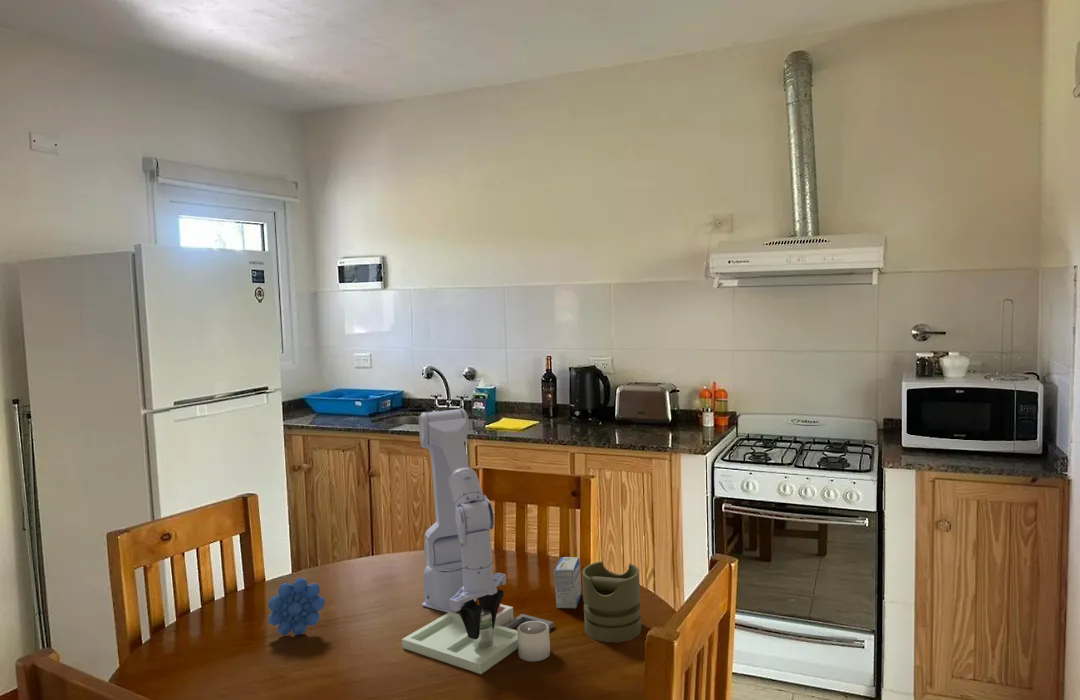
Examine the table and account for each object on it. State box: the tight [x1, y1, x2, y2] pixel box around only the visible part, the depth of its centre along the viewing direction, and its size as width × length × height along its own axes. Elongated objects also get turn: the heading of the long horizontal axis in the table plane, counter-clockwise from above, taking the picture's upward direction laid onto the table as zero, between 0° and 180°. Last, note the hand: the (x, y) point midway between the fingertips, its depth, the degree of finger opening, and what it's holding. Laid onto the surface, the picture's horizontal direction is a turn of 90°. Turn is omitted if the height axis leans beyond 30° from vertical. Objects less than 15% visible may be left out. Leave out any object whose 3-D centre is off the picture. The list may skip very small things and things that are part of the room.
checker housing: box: [495, 603, 515, 626], centre depth 152 cm, size 6×6×3 cm
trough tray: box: [401, 612, 518, 675], centre depth 144 cm, size 20×14×2 cm
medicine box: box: [553, 556, 582, 610], centre depth 161 cm, size 8×4×9 cm, turn 168°
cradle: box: [503, 613, 555, 631], centre depth 149 cm, size 8×8×1 cm
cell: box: [472, 609, 493, 649], centre depth 141 cm, size 4×4×6 cm
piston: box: [581, 560, 642, 643], centre depth 147 cm, size 11×12×11 cm
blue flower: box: [267, 577, 326, 636], centre depth 152 cm, size 12×7×12 cm, turn 94°
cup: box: [516, 621, 551, 662], centre depth 139 cm, size 6×6×5 cm
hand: (481, 632), depth 141 cm, fingers closed on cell, 4 cm apart
